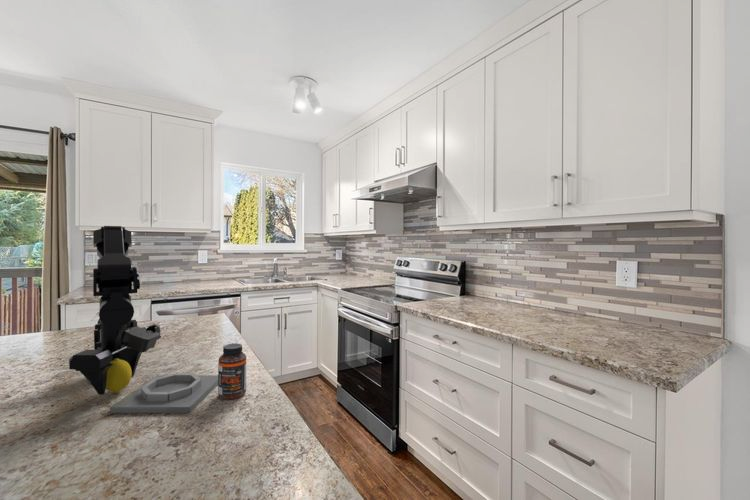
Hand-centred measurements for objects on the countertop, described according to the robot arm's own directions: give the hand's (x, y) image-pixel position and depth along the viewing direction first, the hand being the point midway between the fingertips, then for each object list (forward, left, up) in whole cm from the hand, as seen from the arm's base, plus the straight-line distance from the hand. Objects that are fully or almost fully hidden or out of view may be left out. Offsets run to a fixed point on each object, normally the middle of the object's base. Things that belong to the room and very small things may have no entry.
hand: (117, 385), depth 78 cm
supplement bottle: (+26, -1, -2) cm, 27 cm away
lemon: (0, 0, -2) cm, 2 cm away
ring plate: (+13, -1, -2) cm, 13 cm away
